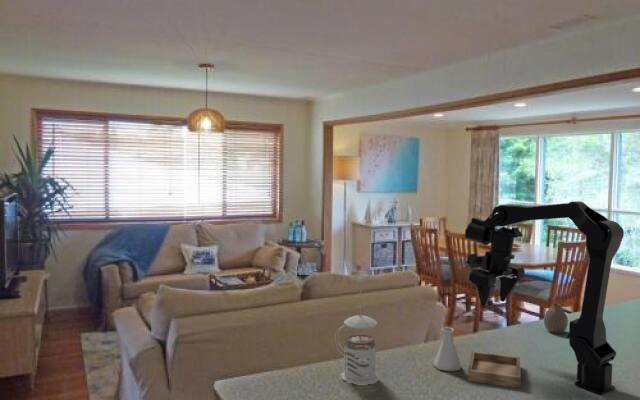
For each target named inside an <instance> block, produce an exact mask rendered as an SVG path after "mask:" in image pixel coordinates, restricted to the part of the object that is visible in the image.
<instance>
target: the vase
mask: <svg viewBox="0 0 640 400" xmlns="http://www.w3.org/2000/svg"><path fill="white" fill-rule="evenodd" d="M568 318H569V317H568V315H567V313H566V312H565V310H564V309H563V308H562V305H561V304H559V303H552V304H551V306H550V307H549V308H548V309H547V310H546V311H545V313H544V317H543V323H544V324H543V325H544V327H545V328H546V330H547V331H548V332H549V333H551V334H555V335H556V334H563V333H564V332H565V331H566V330H567V328H568V325H569V319H568Z"/></svg>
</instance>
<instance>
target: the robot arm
mask: <svg viewBox="0 0 640 400" xmlns="http://www.w3.org/2000/svg"><path fill="white" fill-rule="evenodd" d="M553 219H569V220H571V221H572V222H573V224H574V225H575V227H576V228H577V229H578V230H579V231H580V232H581V233H583V234H584V235H585V247H586V250H587V254H588V258H589V260H588V266H587V271H586V279H585V285H584V291H583V292H584V293H583V298H582V305H581V311H580V316H579V317H578V318H576V319H573V320H571V321H569V323H568V325H569V326H568V327H569V331H568V335H567V336H566V338H567V339H568V341H569V342H568V343H569V347H571V349H572V351H574V355H575V359H576V361H577V366H576V380H577V381H575V382H574V385H575V386H577V387H578V388H579V387H580V388H582V389H585V390H587V391H590V392H592V393H595V394H598V395H602V394H606V393H608V392H610V391H613V390H615V389H616V386H615V385H612V380H613V363H610V362H611V361H614V360H615V358H616V355H617V351H616V350H615V349H614V348H613V347H612V346H611V345H610V343H609V342H608V341H607V332H606V331H607V328H606V325H605V322H604V318H603V317H604V309H605V304H606V298H607V291H608V286H609V279H610V274H611V272H610V271H611V267H612V261H613V259H614V257H615V255H616V254H617V252H618V251H619V249H620V246H621V244H622V241H623V239H624V235H625V232H624V228H623V227H622V226H621V224H620V223H618V222H616V221H614V220H610V219H608V218H607V217H606V216H605V215H602V214H601V213H599V212H597V211H596V210H594V209H593V208H591V207H589V206H588V205H587V204H586V203H585V202H583V201H579V200H578V201H577V200H575V201H569V202H565V203H556V204H555V203H553V204H552V203H551V204H544V205H543V204H542V205H532V206H531V205H523V204H515V203H511V204H499V205H496V206H494V208H493V209H492V211H491V214H490V215H489V216H488V217H487V218H486V219H485V220H484V219H481V218H480V217H471V221H470V222H469V223H468V225H467V227H466V229H465V232H464V233H465V234H464V235H465V236H464V237H465V239H466V240H467V241H468V242H469V241H470V242H473V243H476V244H480V245H483V246H488V245H489V244H490V246H489V247H490V248H489V250H487V251H485V253H484V254H483V255H477V253H470V254H467V258H466V264H467V265H468V266H469V268H470V269H474V270H471V271H470V272H468V278H467V279H468V281H470V282H471V283H472V284H474V286H475V287H476V289H477V292H478V297H479V304H480V306H481V307H483V308H486V306H487V305H488V302H489V300H490V298H491V296H492V294H493V292H494V290H495V288H496V285H495V284H496V282H497V278H498V279H499V281H500V285H499V286H500V291H499V300H500V302H502V303H504V302H505V301H506V300H507V298H508V297H509V295H510V294H511V292H512V291H513V290H514V289H515V287H516V286H517V285H518V284H519V283H520V282H521V281H522V279H524V278H525V273H526V271H525V270H524V268H523V267H521V266H519V265H515V264H512V263H511V261H512V260H513V259H514V260H515V257H516V255H515V254H513V250H514V249H513V248H514V241H515V238H522V237H523V236H524V235H523V233H522V232H521V231H520V230H519V227H517V226H516V227H512V228H510V227H509V226H515V225H519V224H523V223H526V222H530V221H540V220H553ZM497 227H500V228H497ZM508 227H509V228H508ZM475 268H478V269H475ZM480 268H481V269H480Z"/></svg>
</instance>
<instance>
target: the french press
mask: <svg viewBox="0 0 640 400" xmlns="http://www.w3.org/2000/svg"><path fill="white" fill-rule="evenodd" d="M356 282H357V283H360V284H362V283H365V282H366V280H365V278H364V277H362V276H359V277H358V278H357V280H356ZM359 293H360V295H359V297H360V301H359V303H360V305H359V307H360V309H359V311H360V312H359V315H353V316H351V317H348V318H346V319H345V320H344V321H343V323H344V324H343V325H342V326H340V327H339V328H338V329H336V332H335V334H334V343H335V346H336V349H337V351H338V352H339V353H340V354H342V355H343V358H344V359H343V366H344V367H343V372H342V373H340V375H342V378H343V379H345V380H346V381H348V382H351V383H356V384H361V385H360V386H369V385H368V384H371V385H374V384H377V383H378V382H379V381H380V379H379V378H380V376H378V375H379V374H378V373H377V372H376V370H377V369H376V366H377V365H376V363H377V361H376V357H377V355H376V354H377V353H376V352H377V346H376V342H375V340H376V339H375V337H374V336H373V335H369V334H363V333H362V330H369V329H374V328H375V327H377V324H378V322H377V321H376V320H375V319H374V318H371V317H370V316H367V315H363V314H362V290H360V292H359ZM346 328H347V329H346ZM349 328H350V329H357V330H359V333H354V334H353V333H352V334H350V335H349V334H348V335H347V336H346V337H345V340H346V342H347V343H346V342H345V343H344V348H343V347H342V345H341V341H340V333H341V331H342V329H343V330H344V332H345V333H346V332H347V331H348V330H349ZM337 334H338V335H337ZM337 341H338V344H339V347H340V348H341V350H342V352H341V350H340V349H339V348H338V345H337ZM356 346H357V347H356ZM367 346H368V347H367ZM363 349H364V350H363ZM343 352H344V353H343ZM364 360H366V361H364ZM378 380H379V381H378ZM377 381H378V382H377ZM362 384H364V385H362Z"/></svg>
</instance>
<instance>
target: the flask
mask: <svg viewBox="0 0 640 400" xmlns="http://www.w3.org/2000/svg"><path fill="white" fill-rule="evenodd" d="M441 332H442V338H441V343H440V347H439V349H438V350H437V351H438V352H437V354H436V356H435V359H434V362H433V364H432V365H433V367H435V368H436V369H437V370H439V371H446V372H455V371H460V370H461V368H462V364H461V362H460V358H459V355H458V352H457V350H456V346H455V342H454V332H455V329H454V328H453V327H445V326H444V327H442V328H441Z"/></svg>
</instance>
